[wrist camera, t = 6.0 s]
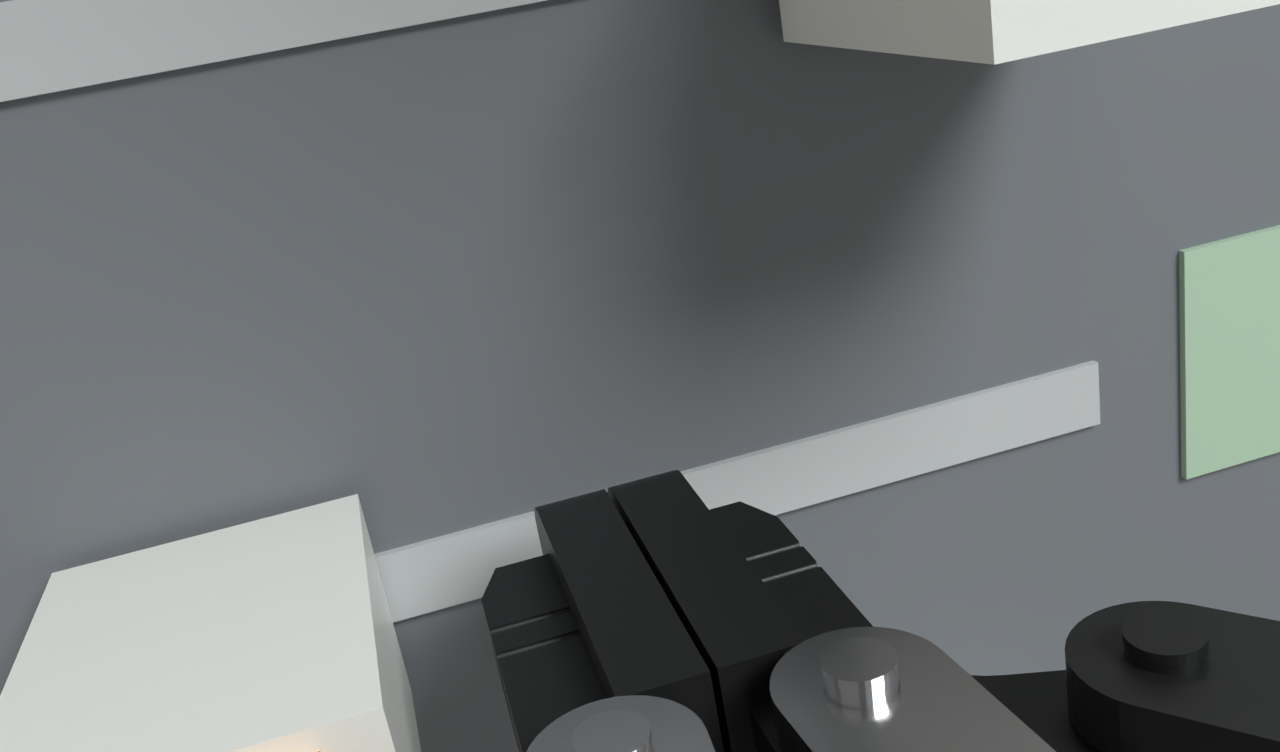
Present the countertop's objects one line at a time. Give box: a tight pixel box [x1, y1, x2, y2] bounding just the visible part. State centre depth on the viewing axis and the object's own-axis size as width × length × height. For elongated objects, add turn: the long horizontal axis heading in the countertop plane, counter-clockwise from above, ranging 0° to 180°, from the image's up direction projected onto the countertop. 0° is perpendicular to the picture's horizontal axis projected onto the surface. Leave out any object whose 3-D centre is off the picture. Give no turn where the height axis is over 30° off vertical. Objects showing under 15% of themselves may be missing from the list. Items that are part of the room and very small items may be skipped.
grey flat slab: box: [0, 0, 1280, 752], centre depth 15 cm, size 18×20×3 cm
